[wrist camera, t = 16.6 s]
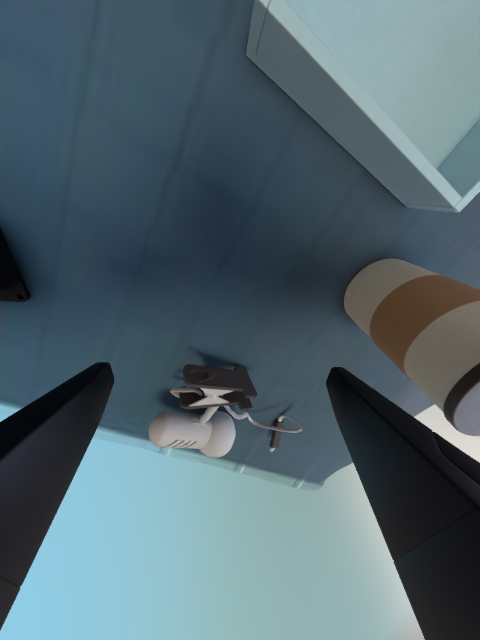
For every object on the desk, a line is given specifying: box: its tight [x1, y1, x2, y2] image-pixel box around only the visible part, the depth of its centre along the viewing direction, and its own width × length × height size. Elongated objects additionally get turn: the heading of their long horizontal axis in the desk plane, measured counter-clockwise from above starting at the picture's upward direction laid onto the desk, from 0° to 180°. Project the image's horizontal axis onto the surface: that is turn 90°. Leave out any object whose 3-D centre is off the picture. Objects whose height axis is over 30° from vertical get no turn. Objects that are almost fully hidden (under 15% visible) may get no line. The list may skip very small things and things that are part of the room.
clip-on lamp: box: [149, 364, 302, 457], centre depth 26 cm, size 12×6×18 cm
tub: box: [246, 0, 480, 212], centre depth 11 cm, size 15×12×4 cm
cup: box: [344, 258, 480, 436], centre depth 16 cm, size 7×7×12 cm
